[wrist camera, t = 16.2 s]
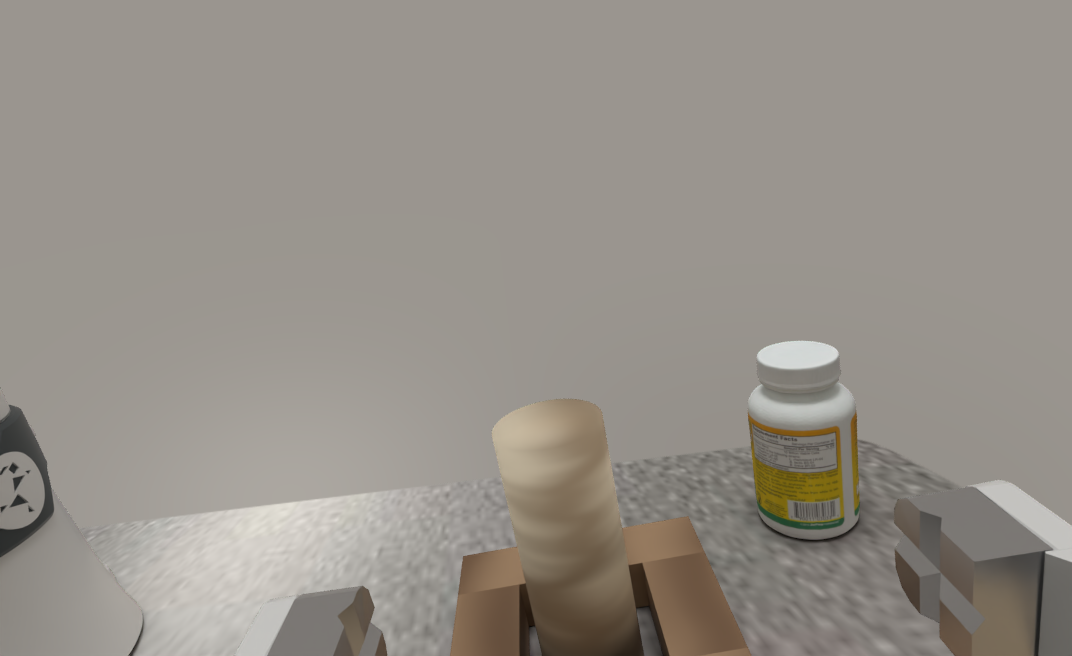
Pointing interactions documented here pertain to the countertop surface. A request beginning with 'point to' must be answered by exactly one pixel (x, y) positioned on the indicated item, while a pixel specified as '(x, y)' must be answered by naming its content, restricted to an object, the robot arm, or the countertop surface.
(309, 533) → the countertop surface
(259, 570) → the countertop surface
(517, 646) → the socket block
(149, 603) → the countertop surface
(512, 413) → the dowel
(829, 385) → the supplement bottle
